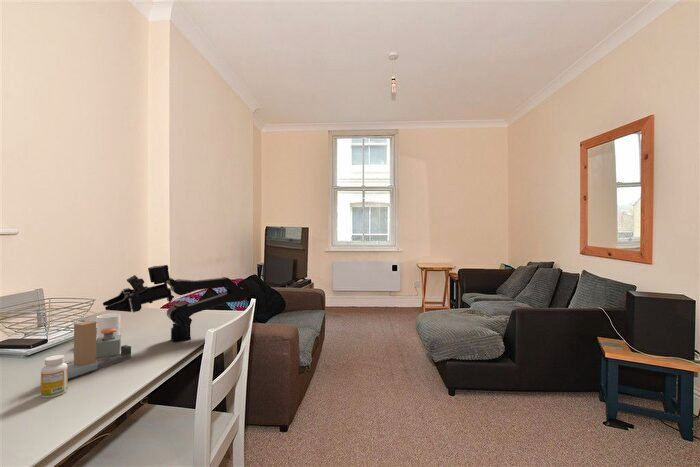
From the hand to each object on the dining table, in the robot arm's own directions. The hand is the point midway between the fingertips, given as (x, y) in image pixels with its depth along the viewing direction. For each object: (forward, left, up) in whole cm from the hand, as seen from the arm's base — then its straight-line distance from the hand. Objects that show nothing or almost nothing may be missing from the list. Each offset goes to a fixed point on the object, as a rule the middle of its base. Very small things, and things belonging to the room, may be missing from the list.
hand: (104, 306), depth 121 cm
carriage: (+5, +18, -16) cm, 25 cm away
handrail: (+2, +16, -17) cm, 23 cm away
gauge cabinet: (-1, 0, -17) cm, 17 cm away
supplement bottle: (+9, +30, -17) cm, 36 cm away
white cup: (0, -17, -17) cm, 24 cm away
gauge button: (-1, 0, -14) cm, 14 cm away
